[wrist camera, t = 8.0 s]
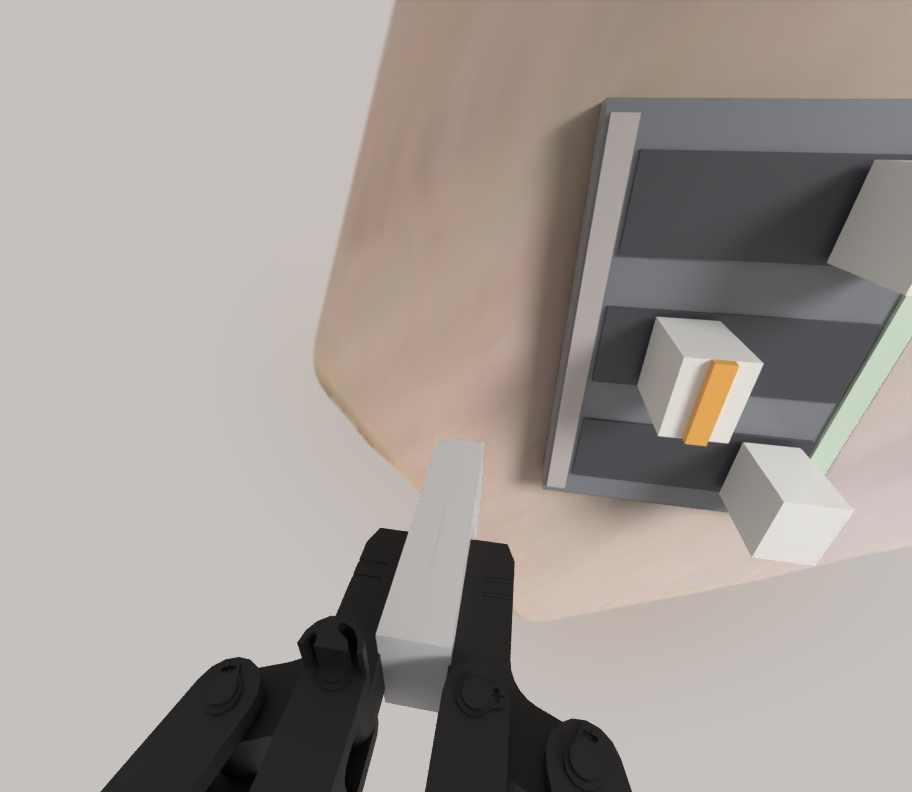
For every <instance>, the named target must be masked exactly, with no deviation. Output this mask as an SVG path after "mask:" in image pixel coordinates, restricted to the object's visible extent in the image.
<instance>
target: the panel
mask: <svg viewBox="0 0 912 792" xmlns="http://www.w3.org/2000/svg"><path fill="white" fill-rule="evenodd" d="M874 160H912V99H744V98H607V99H605V100H604V101H602V103H601V109H600V116H599V122H598V128H597V134H596V140H595V147H594V153H593V159H592V165H591V171H590V178H589V184H588V190H587V196H586V202H585V209H584V215H583V221H582V227H581V234H580V240H579V246H578V252H577V258H576V265H575V271H574V277H573V283H572V289H571V296H570V302H569V308H568V314H567V320H566V327H565V333H564V339H563V345H562V352H561V358H560V364H559V370H558V376H557V383H556V389H555V395H554V401H553V407H552V414H551V420H550V426H549V432H548V438H547V445H546V451H545V457H544V463H543V470H542V475H543V489H545V490H553V491H561V492H569V493H577V494H585V495H593V496H601V497H609V498H617V499H625V500H633V501H641V502H649V503H657V504H665V505H673V506H681V507H689V508H697V509H705V510H713V511H721V512H728V510H727V508H726V506H725V504H724V502H723V501H722V499H721V497H720V495H719V493H720V490H721V488H722V486H723V484H724V482H725V480H726V478H727V475H728V473H729V471H730V469H731V467H732V465H733V463H734V460H735V458H736V456H737V454H738V452H739V450H740V448H741V445H742V443H743V442H746V443H756V444H765V445H775V446H785V447H794V448H801V449H802V450H803V451H804V453H805V454H806V455H807V456H808V457H809V458H810V459H811V461H812V462H813V463H814V464H815V465H816V466H817V468H818V469H819V470H820V471H821V472H822V473H823V475H824V476H826V474H827V472H828V471H829V469H830V468H831V466H832V464H833V463H834V461H835V460H836V458H837V456H838V455H839V453H840V452H841V450H842V449H843V447H844V445H845V444H846V442H847V441H848V439H849V437H850V436H851V434H852V433H853V431H854V429H855V428H856V426H857V425H858V423H859V421H860V420H861V418H862V417H863V415H864V413H865V412H866V410H867V409H868V407H869V406H870V404H871V402H872V401H873V399H874V398H875V396H876V394H877V393H878V391H879V390H880V388H881V386H882V385H883V383H884V382H885V380H886V378H887V377H888V375H889V374H890V372H891V370H892V369H893V367H894V366H895V364H896V363H897V361H898V359H899V358H900V356H901V355H902V353H903V351H904V350H905V348H906V347H907V345H908V343H909V342H910V340H911V339H912V296H905V295H902V294H900V293H898V292H895V291H893V290H890V289H888V288H886V287H883V286H881V285H878V284H876V283H874V282H871V281H869V280H866V279H864V278H862V277H859V276H857V275H854V274H852V273H850V272H847V271H845V270H842V269H840V268H838V267H835V266H833V265H830V264H828V263H827V261H828V259H829V257H830V255H831V252H832V250H833V248H834V246H835V244H836V242H837V240H838V237H839V235H840V233H841V231H842V229H843V227H844V225H845V222H846V220H847V218H848V216H849V214H850V212H851V210H852V207H853V205H854V203H855V201H856V199H857V197H858V195H859V192H860V190H861V188H862V186H863V184H864V182H865V180H866V177H867V175H868V173H869V171H870V169H871V167H872V165H873V162H874ZM656 317H669V318H683V319H698V320H712V321H721V322H722V323H723V324H724V325H725V326H726V327H727V328H728V329H729V330H730V331H731V332H732V333H733V334H734V335H735V336H736V337H737V338H738V339H739V340H740V341H741V342H742V343H743V344H744V345H745V346H746V347H747V348H748V349H749V350H750V351H751V352H752V353H754V354H755V355H756V356H757V357H758V358H759V359H760V360H761V361H762V362H763V363H764V364H763V367H762V369H761V371H760V373H759V376H758V378H757V380H756V382H755V385H754V387H753V389H752V391H751V394H750V396H749V398H748V400H747V403H746V405H745V407H744V409H743V412H742V414H741V416H740V418H739V421H738V423H737V425H736V427H735V430H734V432H733V434H732V436H731V439H730V441H729V443H719V442H709V441H708V444H707V446H699V445H690V444H685V443H684V441H683V439H681V438H671V437H662V436H658V435H657V433H656V430H655V428H654V425H653V423H652V420H651V418H650V416H649V413H648V411H647V408H646V406H645V403H644V401H643V399H642V396H641V394H640V391H639V389H638V386H637V385H638V381H639V377H640V374H641V370H642V367H643V363H644V359H645V356H646V352H647V348H648V345H649V341H650V338H651V334H652V330H653V327H654V323H655V320H656Z"/></svg>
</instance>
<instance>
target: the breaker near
mask: <svg viewBox="0 0 912 792" xmlns="http://www.w3.org/2000/svg"><path fill="white" fill-rule="evenodd" d="M827 263H828V264H830V265H833V266H835V267H838V268H840V269H842V270H845V271H847V272H850V273H852V274H854V275H857V276H859V277H862V278H864V279H866V280H869V281H871V282H874V283H876V284H878V285H881V286H883V287H886V288H888V289H890V290H893V291H895V292H898V293H900V294H902V295H905V296H912V160H874V162H873V165H872V167H871V169H870V171H869V173H868V175H867V177H866V180H865V182H864V184H863V186H862V188H861V190H860V192H859V195H858V197H857V199H856V201H855V203H854V205H853V207H852V210H851V212H850V214H849V216H848V218H847V220H846V222H845V225H844V227H843V229H842V231H841V233H840V235H839V237H838V240H837V242H836V244H835V246H834V248H833V250H832V252H831V255H830V257H829V259H828V261H827Z"/></svg>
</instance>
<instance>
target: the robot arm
mask: <svg viewBox="0 0 912 792" xmlns="http://www.w3.org/2000/svg"><path fill="white" fill-rule="evenodd" d="M484 443H485V442H477V441H468V440H458V439H449V438H440V437H439V439H438V443H437V446H436V449H435V452H434V455H433V458H432V461H431V464H430V467H429V470H428V474H427V477H426V480H425V483H424V486H423V489H422V492H421V495H420V498H419V501H418V505H417V508H416V511H415V514H414V517H413V520H412V523H411V526H410V529H409V532H407V531H399V530H392V529H385V528H380V529H379V530H378V531H377V532H376V533H375V534H374V535H373V536H372V537H371V538H370V539H369V540H368V541H367V543H366V545H365V548H364V550H363V552H362V555H361V557H360V561H359V562H358V564H357V567H356V569H355V571H354V575H353V577H352V579H351V581H350V583H349V585H348V588H347V590H346V593H345V595H344V597H343V600H342V602H341V605H340V607H339V609H338V612H337V614H336V616H329V617H327V618H324V619H322V620H319V621H317V622H316V623H314V625H312V626H311V627H309V628H308V629H307V630H306V631H305V632H304V634H303V635H302V637H301V638H300V640H299V641H298V642H297V644H298V647H299V649H300V653H301V656H302V658H301V659H298V660H295V661H292V662H288V663H283V664H277V665H271V666H266V667H260V668H258V667H257V666H256V665H255V664H254V663H253V662H252V661H251V660H249V659H245V658H241V657H236V658H231V659H226V660H224V661H222V662H220V663H218V664H216V665H214V666H212V667H211V668H210V669H209V670H208V671H206V672H205V673H204V674H203V675H202V676H201V677H200V678H199V679H198V680H197V681H196V682H195V683H194V685H193V686H192V687H191V688H190V689H189V691H187V693H186V694H185V695H184V696H183V697H182V698H181V700H180V701H179V702H178V703H177V704H176V705H175V706H174V708H173V709H172V710H171V711H170V712H169V714H168V715H167V716H166V717H165V718H164V719H163V720H162V722H161V723H160V724H159V725H158V726H157V727H156V728H155V730H154V731H153V732H152V733H151V734H150V735H149V736H148V738H147V739H146V740H145V741H144V742H143V743H142V745H141V746H140V747H139V748H138V749H137V750H136V751H135V753H134V754H133V755H132V756H131V757H130V758H129V760H128V761H127V762H126V763H125V764H124V765H123V766H122V768H121V769H120V770H119V771H118V772H117V773H116V774H115V776H114V777H113V778H112V779H111V780H110V781H109V783H108V784H107V785H106V786H105V787H104V788H103V789H102V791H101V792H362V791H363V787H364V784H365V779H366V776H367V772H368V768H369V764H370V761H371V757H372V753H373V749H374V745H375V742H376V738H377V732H378V713H379V709H380V705H381V702H382V698H383V695H384V697H385V702H387V703H392V704H397V705H402V706H408V707H413V708H418V709H424V710H428V711H434V712H438V719H437V724H436V730H435V736H434V742H433V748H432V754H431V759H430V766H429V771H428V777H427V783H426V789H425V792H632V791H631V788H630V785H629V782H628V779H627V776H626V773H625V770H624V767H623V764H622V761H621V758H620V756H619V754H618V752H617V750H616V748H615V746H614V744H613V742H612V741H611V740H610V739H609V738H608V737H607V735H606V734H605V733H604V732H603V731H602V730H601V729H600V728H598V727H597V726H595V725H593V724H591V723H590V722H588V721H586V720H578V719H570V720H567V721H564V722H562V721H560V720H558V719H557V718H555V717H553V716H552V715H550V714H548V713H547V712H545V711H543V710H542V709H540V708H538V707H536V706H535V705H534V704H533V703H531V702H530V701H529V700H527V699H526V697H525V696H524V695H523V694H522V693H521V692H520V690H519V688H518V686H517V685H516V683H515V681H514V678H513V675H512V672H511V662H510V654H511V632H512V631H511V630H512V609H513V586H514V584H513V583H514V563H515V562H514V559H513V557H512V554H511V552H510V549H509V547H508V544H501V543H494V542H487V541H480V540H475V538H476V531H477V525H478V518H479V511H480V504H481V489H482V474H483V458H484Z"/></svg>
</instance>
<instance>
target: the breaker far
mask: <svg viewBox="0 0 912 792" xmlns="http://www.w3.org/2000/svg"><path fill="white" fill-rule="evenodd" d="M719 495H720V497H721V499H722V501H723V502H724V504H725V506H726V508H727V510H728V512H729V514H730V516H731V518H732V520H733V522H734V524H735V526H736V528H737V529H738V531H739V533H740V535H741V537H742V539H743V541H744V543H745V545H746V547H747V549H748V551H749V553H750V555H751V557H754V558H761V559H769V560H776V561H783V562H790V563H798V564H805V565H812V566H815V565H816V564H817V562H818V561H819V559H820V558H821V557H822V555H823V554H824V552H825V551H826V550H827V548H828V547H829V545H830V544H831V543H832V541H833V540H834V538H835V537H836V536H837V534H838V533H839V531H840V530H841V529H842V527H843V526H844V524H845V523H846V522H847V520H848V519H849V517H850V516H851V515H852V513H853V512H854V511H855V510H854V509H853V508H852V507H851V506H850V505H849V504H848V502H847V501H846V500H845V499H844V498H843V497H842V495H841V494H840V493H839V492H838V491H837V490H836V488H835V487H834V486H833V485H832V484H831V483H830V482H829V480H828V479H827V478H826V477H825V476H824V475H823V473H822V472H821V471H820V470H819V469H818V468H817V466H816V465H815V464H814V463H813V462H812V461H811V459H810V458H809V457H808V456H807V455H806V454H805V453H804V451H803V450H802V449H801V448H794V447H785V446H775V445H765V444H756V443H746V442H743V443H742V445H741V448H740V450H739V452H738V454H737V456H736V458H735V460H734V463H733V465H732V467H731V469H730V471H729V473H728V475H727V478H726V480H725V482H724V484H723V486H722V488H721V490H720V493H719Z"/></svg>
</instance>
